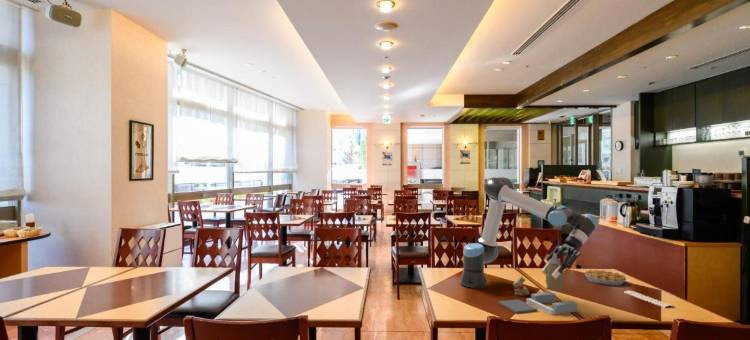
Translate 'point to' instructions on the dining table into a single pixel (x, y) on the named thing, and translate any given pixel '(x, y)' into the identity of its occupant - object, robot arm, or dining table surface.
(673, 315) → the dining table surface
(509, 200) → the robot arm
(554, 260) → the squeeze bottle
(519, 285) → the chocolate bunny
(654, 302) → the newspaper
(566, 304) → the grey u-shaped frame
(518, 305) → the rubber mat
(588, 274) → the pie
